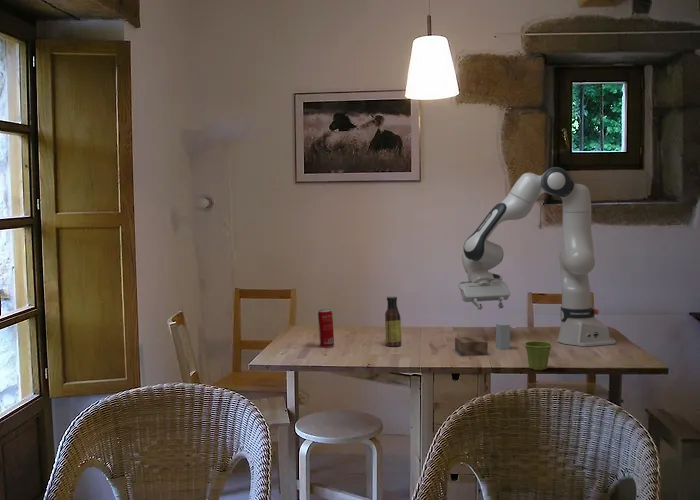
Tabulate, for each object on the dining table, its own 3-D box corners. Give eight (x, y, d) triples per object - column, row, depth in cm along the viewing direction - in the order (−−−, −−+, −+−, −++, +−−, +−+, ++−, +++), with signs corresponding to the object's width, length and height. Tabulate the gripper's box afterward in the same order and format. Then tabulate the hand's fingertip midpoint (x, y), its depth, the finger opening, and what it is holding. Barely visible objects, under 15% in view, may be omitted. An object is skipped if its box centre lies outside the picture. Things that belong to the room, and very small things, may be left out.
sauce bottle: (404, 345, 297) (404, 296, 295) (394, 347, 292) (394, 298, 291) (392, 343, 301) (391, 295, 300) (382, 345, 297) (381, 296, 295)
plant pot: (552, 372, 251) (553, 347, 250) (524, 371, 253) (524, 346, 252) (551, 365, 260) (551, 341, 259) (523, 364, 262) (523, 340, 261)
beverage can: (336, 345, 298) (335, 309, 297) (329, 348, 292) (328, 311, 291) (323, 344, 301) (322, 308, 299) (316, 347, 295) (315, 310, 293)
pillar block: (505, 348, 289) (505, 323, 288) (510, 350, 285) (510, 324, 285) (495, 348, 288) (495, 323, 287) (500, 350, 284) (500, 325, 284)
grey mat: (482, 349, 287) (482, 348, 287) (490, 356, 275) (490, 355, 275) (451, 350, 286) (451, 349, 286) (459, 357, 274) (459, 356, 274)
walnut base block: (480, 349, 286) (480, 336, 286) (487, 354, 276) (487, 341, 276) (455, 350, 285) (455, 337, 285) (461, 355, 275) (461, 342, 275)
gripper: (459, 277, 299) (469, 304, 290) (505, 275, 304) (516, 302, 296) (455, 286, 304) (464, 314, 295) (500, 284, 309) (511, 311, 300)
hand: (491, 308), depth 295 cm, fingers open, 8 cm apart
